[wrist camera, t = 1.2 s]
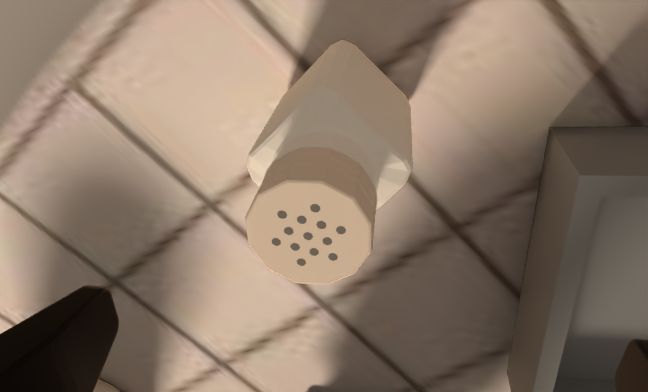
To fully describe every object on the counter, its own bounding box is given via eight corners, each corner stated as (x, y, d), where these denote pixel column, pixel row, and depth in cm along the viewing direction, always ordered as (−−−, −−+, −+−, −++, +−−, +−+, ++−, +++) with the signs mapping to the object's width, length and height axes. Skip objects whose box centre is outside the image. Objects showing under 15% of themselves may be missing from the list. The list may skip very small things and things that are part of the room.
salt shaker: (277, 100, 21) (196, 231, 13) (344, 29, 19) (300, 128, 11) (346, 163, 22) (314, 321, 14) (416, 101, 20) (426, 241, 12)
